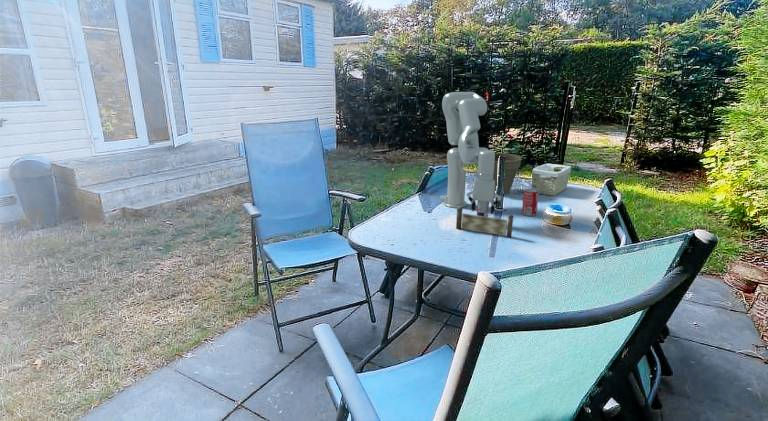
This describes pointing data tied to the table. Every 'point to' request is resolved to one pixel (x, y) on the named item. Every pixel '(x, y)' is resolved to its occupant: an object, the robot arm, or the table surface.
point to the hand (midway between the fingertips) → (482, 211)
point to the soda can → (530, 202)
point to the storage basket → (550, 178)
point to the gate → (484, 224)
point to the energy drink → (482, 208)
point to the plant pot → (507, 170)
